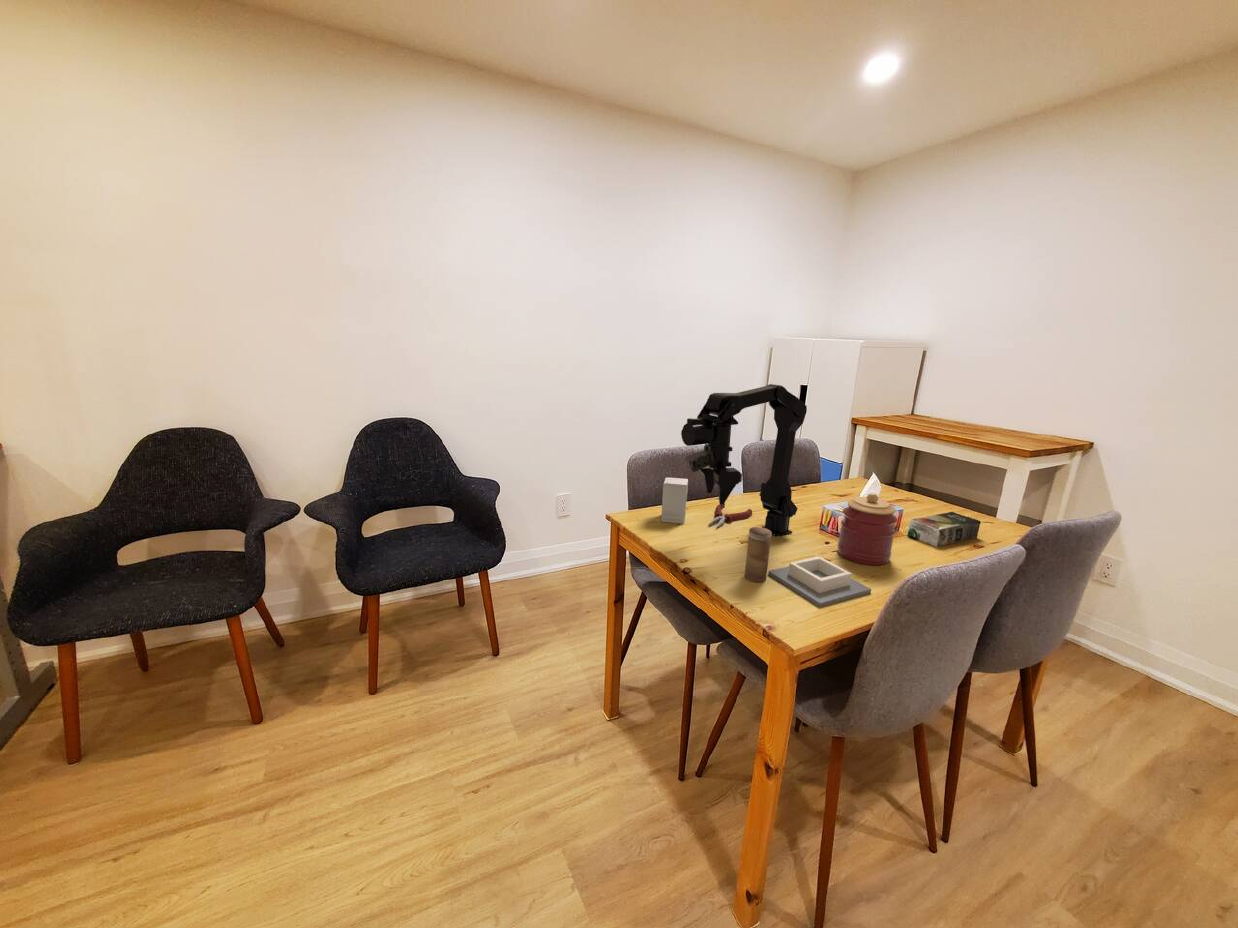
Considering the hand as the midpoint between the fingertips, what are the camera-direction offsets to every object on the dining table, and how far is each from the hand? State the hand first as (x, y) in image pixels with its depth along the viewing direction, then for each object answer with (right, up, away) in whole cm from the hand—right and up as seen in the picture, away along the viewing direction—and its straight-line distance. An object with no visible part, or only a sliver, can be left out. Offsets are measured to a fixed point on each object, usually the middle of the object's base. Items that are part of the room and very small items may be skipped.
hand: (715, 498), depth 131 cm
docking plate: (+21, -19, -16) cm, 33 cm away
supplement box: (-9, -8, +23) cm, 26 cm away
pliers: (+7, -8, +26) cm, 28 cm away
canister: (+40, -16, 0) cm, 43 cm away
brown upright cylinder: (+7, -18, -14) cm, 24 cm away
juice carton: (+71, -13, +15) cm, 74 cm away
